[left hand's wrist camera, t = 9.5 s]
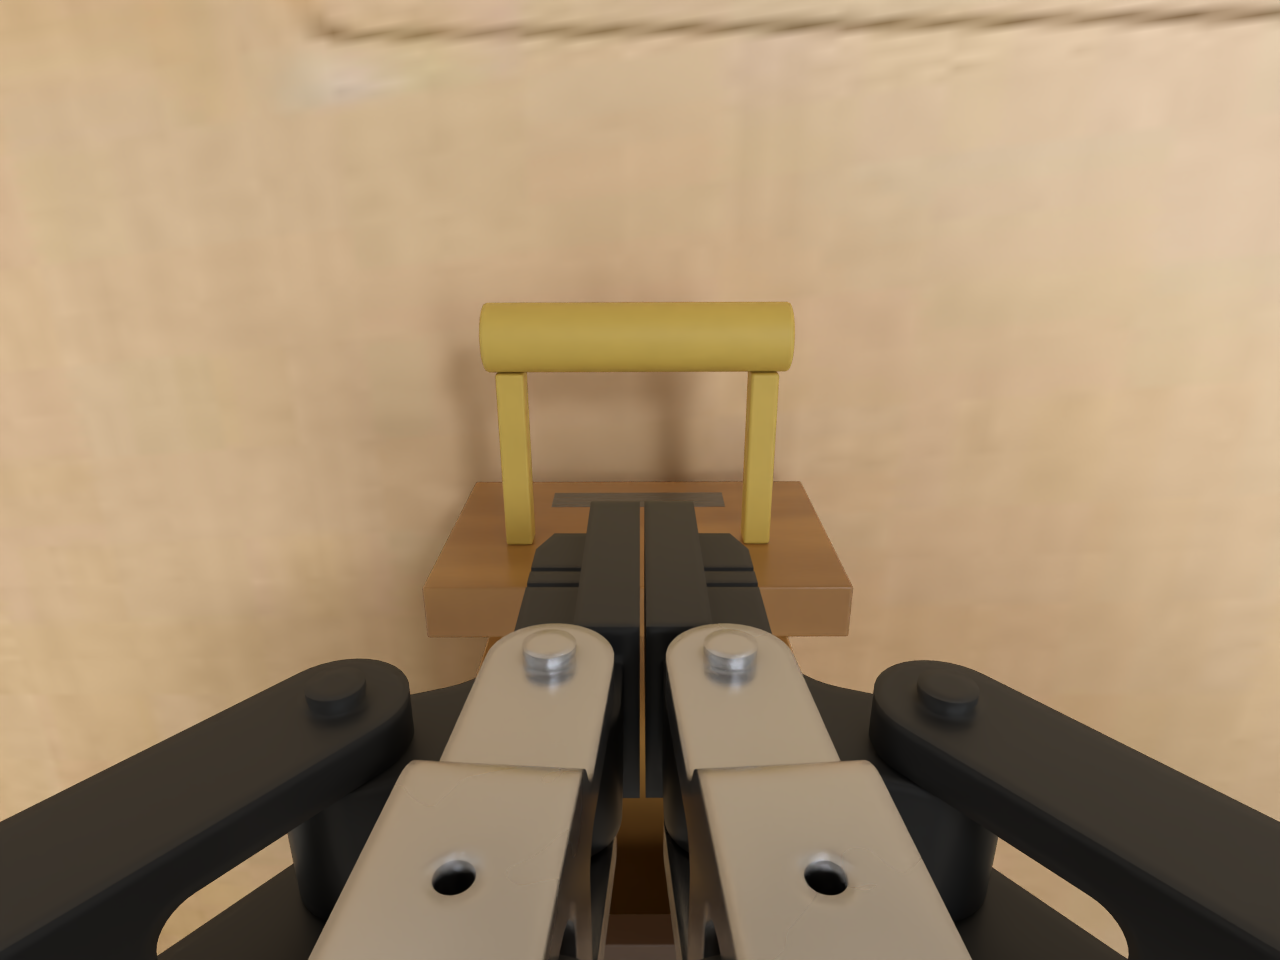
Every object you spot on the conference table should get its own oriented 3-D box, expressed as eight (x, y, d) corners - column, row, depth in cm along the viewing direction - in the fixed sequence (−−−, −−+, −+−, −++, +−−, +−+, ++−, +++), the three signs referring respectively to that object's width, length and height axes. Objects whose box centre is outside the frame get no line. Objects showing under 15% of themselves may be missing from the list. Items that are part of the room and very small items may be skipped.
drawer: (459, 279, 21) (391, 324, 15) (815, 278, 21) (880, 322, 15) (516, 983, 30) (487, 1175, 24) (764, 982, 30) (793, 1174, 24)
